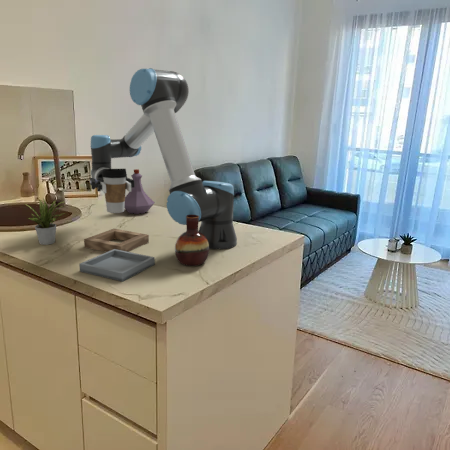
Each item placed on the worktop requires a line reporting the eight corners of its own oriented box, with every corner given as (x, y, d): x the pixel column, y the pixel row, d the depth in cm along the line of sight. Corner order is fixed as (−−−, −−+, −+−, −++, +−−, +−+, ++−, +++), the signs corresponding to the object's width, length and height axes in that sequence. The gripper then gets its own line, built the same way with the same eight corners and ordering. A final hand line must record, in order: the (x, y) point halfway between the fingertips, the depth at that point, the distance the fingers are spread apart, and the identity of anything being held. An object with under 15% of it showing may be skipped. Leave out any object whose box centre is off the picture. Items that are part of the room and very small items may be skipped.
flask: (136, 217, 192) (135, 173, 187) (112, 211, 202) (110, 169, 197) (162, 211, 205) (161, 169, 200) (138, 206, 214) (137, 166, 209)
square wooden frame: (148, 242, 157) (148, 234, 157) (120, 254, 143) (120, 246, 143) (114, 236, 164) (114, 228, 163) (84, 247, 150) (83, 239, 149)
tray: (154, 264, 136) (154, 257, 135) (122, 281, 122) (122, 273, 121) (114, 256, 142) (114, 249, 141) (79, 271, 128) (79, 263, 127)
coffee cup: (120, 214, 146) (119, 170, 142) (98, 212, 148) (96, 169, 144) (132, 209, 154) (131, 168, 150) (110, 207, 155) (109, 166, 152)
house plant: (79, 241, 156) (76, 197, 152) (47, 251, 145) (43, 204, 140) (53, 234, 163) (50, 192, 159) (20, 243, 152) (16, 198, 147)
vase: (178, 269, 132) (178, 221, 128) (172, 257, 143) (172, 212, 139) (212, 266, 135) (213, 219, 131) (204, 255, 146) (205, 211, 142)
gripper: (133, 186, 169) (147, 197, 149) (78, 189, 161) (86, 201, 141) (132, 167, 167) (147, 176, 147) (77, 169, 159) (85, 178, 139)
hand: (117, 188), depth 144 cm, fingers closed on coffee cup, 8 cm apart
